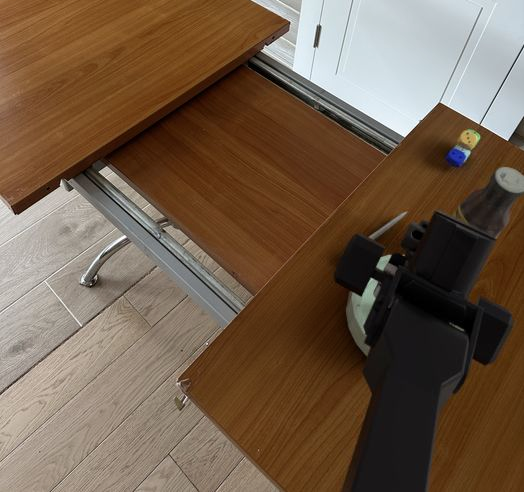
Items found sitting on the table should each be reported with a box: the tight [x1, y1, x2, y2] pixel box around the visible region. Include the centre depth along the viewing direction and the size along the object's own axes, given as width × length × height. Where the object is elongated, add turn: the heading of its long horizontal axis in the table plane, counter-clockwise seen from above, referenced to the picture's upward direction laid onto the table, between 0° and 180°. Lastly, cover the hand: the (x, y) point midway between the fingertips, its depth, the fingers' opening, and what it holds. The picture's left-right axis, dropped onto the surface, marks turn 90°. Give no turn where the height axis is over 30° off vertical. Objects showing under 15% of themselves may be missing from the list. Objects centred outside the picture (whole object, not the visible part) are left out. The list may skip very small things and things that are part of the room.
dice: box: [445, 128, 481, 168], centre depth 89 cm, size 8×3×6 cm, turn 140°
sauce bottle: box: [451, 166, 524, 239], centre depth 71 cm, size 7×6×20 cm
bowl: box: [345, 254, 464, 357], centre depth 69 cm, size 15×15×4 cm
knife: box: [338, 210, 409, 261], centre depth 78 cm, size 15×1×2 cm, turn 128°
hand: (420, 280), depth 65 cm, fingers closed
